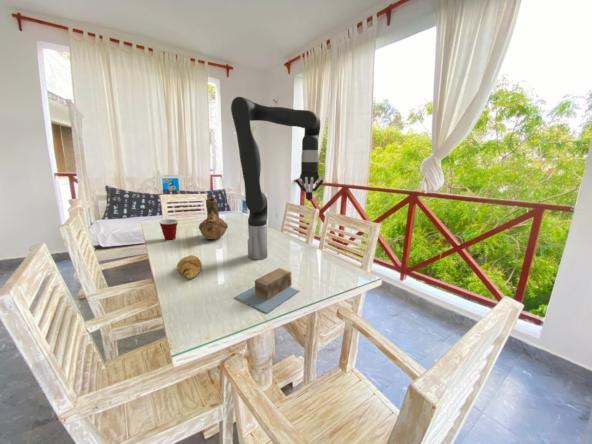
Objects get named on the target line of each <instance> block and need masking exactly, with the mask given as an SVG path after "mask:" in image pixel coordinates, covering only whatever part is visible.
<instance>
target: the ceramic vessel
mask: <svg viewBox="0 0 592 444" xmlns="http://www.w3.org/2000/svg"><path fill="white" fill-rule="evenodd" d="M205 205H206V206H205V208H206V214H207V217H206V219H204V220H203V221H202V222H200V223H199V224H198V229H199V231H200V233H201V235H202V236H203V237H204V238H206V239H209V240H216V239H219V238H221V237H223V236H224V235H225V233H226V232H227V229H228V223H227V222H226V221H225V220H223V218H221V217H220V215H219V206H218V200H217V199H216V198H215V197H213V198H207V199H205Z"/></svg>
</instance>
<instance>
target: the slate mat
mask: <svg viewBox="0 0 592 444" xmlns="http://www.w3.org/2000/svg"><path fill="white" fill-rule="evenodd" d="M298 293H300V290H298V289H296V288H293V287H291V286H290V287H288V288H286V289H285V290H283V291H282V292H280V293H278V294H277V295H275V296H274V297H272V298H270V299H269V300H265V299H263V298H261V297H258V296H256V295H255V285H254V286H252V287H251V288H249V289H246V290H245V291H243V292H241V293H239V294H238V295H235V296H234V299H235V298H237V299H236V300H238V299H239V300H238V301H240V300H241V301H240V302H242V301H243V302H242V303H244V302H245V303H244V304H246V303H247V304H246V305H248V304H249V305H248V306H250V305H252V306H254V307H255V308H254V307H253V308H254V309H256V308H257V309H256V310H258V309H259V310H258V311H260V310H261V311H260V312H262V311H263V312H262V313H264V312H265V313H264V314H266V313H268V314H269V313H270V312H272V311H273V310H275V309H277V307H279V306H280V305H282V304H283V303H285V302H287V301H288V300H290V299H291V298H292V297H294V296H295V295H297V294H298ZM252 306H251V307H252Z"/></svg>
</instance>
